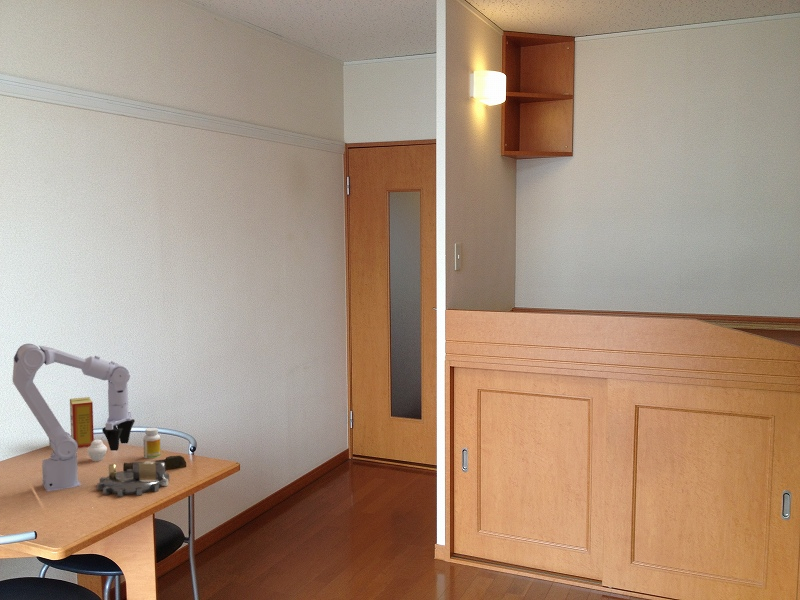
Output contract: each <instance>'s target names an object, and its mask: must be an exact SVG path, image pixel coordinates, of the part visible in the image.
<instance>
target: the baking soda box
mask: <svg viewBox="0 0 800 600" xmlns="http://www.w3.org/2000/svg"><path fill="white" fill-rule="evenodd" d="M93 409H94V405H93V400H92V399H91V398H90V396H88V397H87V396H86V397H75V398H69V416H70V436H71V437H72V439H74V440H75V441H76V442H77V445H78V448H79V449H80V448H85V447H90V445H91V443H92V441H94V440H95V439H94V437H95V436H94V410H93Z"/></svg>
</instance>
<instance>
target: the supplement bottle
mask: <svg viewBox="0 0 800 600" xmlns="http://www.w3.org/2000/svg"><path fill="white" fill-rule="evenodd" d="M158 433H159V428H157V427H149V428H145V435H144V436H143V438H142V439H143V440H142V441H143V458H144V459H154V458H155V459H156V458H159V457H161V456H162V455H161V436H160V434H158Z"/></svg>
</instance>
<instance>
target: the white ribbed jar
mask: <svg viewBox="0 0 800 600" xmlns="http://www.w3.org/2000/svg"><path fill="white" fill-rule="evenodd" d="M86 450H87V451H86V452H87V454H88V456H89V457H90V459H91V461H92V462H101V461H103V460H104V458H105V456H106V453H107V450H108V447H107V445H105V444H104V443H103V440H101V439H94V441H92V443H91V445H90V446H88V448H87V449H86Z"/></svg>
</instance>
